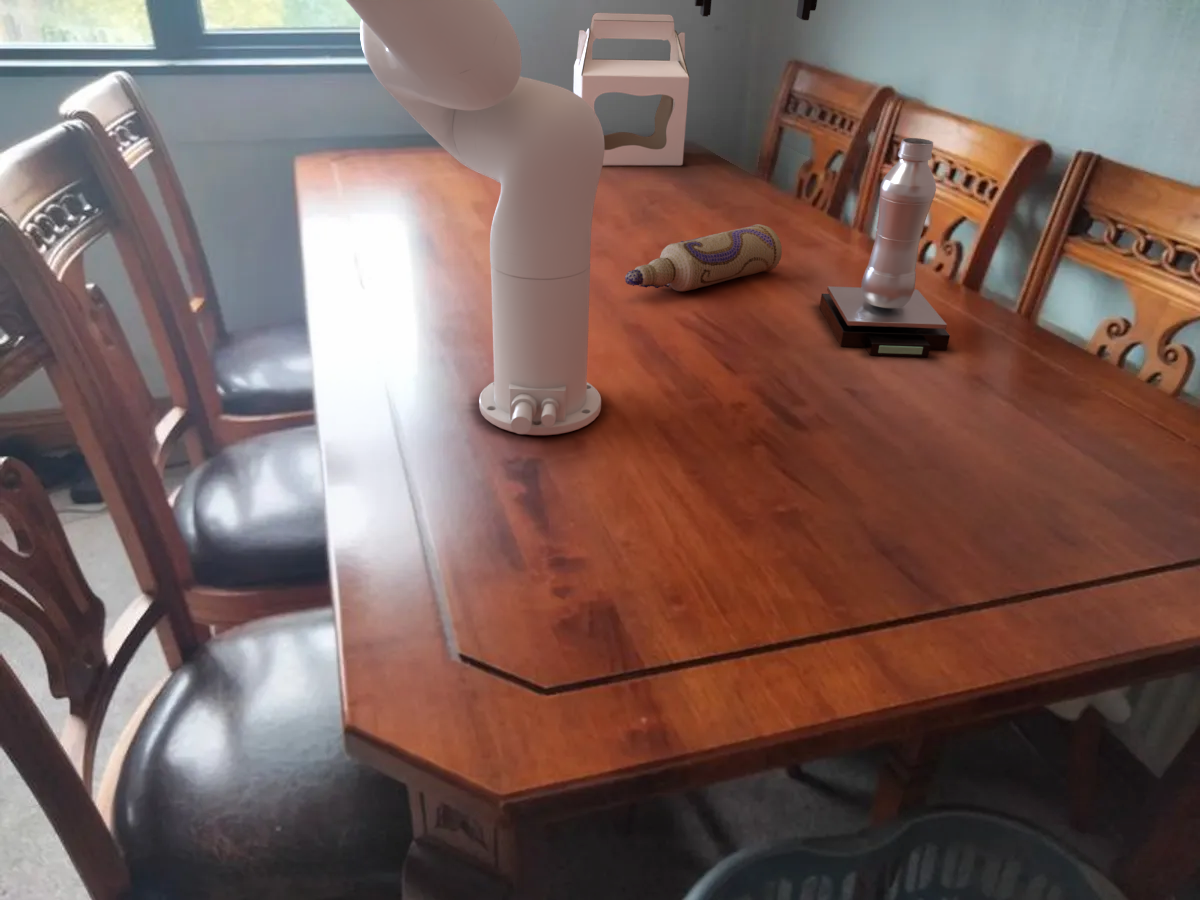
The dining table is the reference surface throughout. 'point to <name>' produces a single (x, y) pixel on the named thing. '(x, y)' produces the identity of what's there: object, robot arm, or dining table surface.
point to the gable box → (638, 86)
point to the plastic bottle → (900, 226)
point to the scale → (884, 324)
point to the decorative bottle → (711, 259)
